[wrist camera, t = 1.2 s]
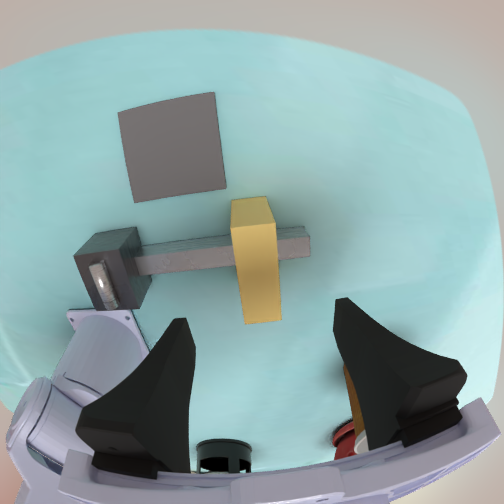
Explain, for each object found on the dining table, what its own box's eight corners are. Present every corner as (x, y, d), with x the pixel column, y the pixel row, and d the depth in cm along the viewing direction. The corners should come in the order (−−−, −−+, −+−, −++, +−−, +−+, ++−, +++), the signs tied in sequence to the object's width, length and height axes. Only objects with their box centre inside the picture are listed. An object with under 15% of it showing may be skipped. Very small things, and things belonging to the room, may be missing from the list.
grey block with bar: (304, 263, 23) (319, 297, 19) (112, 284, 23) (92, 318, 19) (302, 205, 21) (320, 230, 17) (94, 233, 21) (67, 261, 17)
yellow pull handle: (272, 277, 24) (281, 320, 19) (242, 280, 24) (244, 324, 19) (265, 196, 21) (275, 222, 16) (231, 200, 20) (230, 228, 16)
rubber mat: (226, 187, 20) (226, 188, 20) (136, 201, 20) (134, 203, 20) (214, 92, 17) (213, 91, 16) (119, 112, 17) (117, 112, 16)
